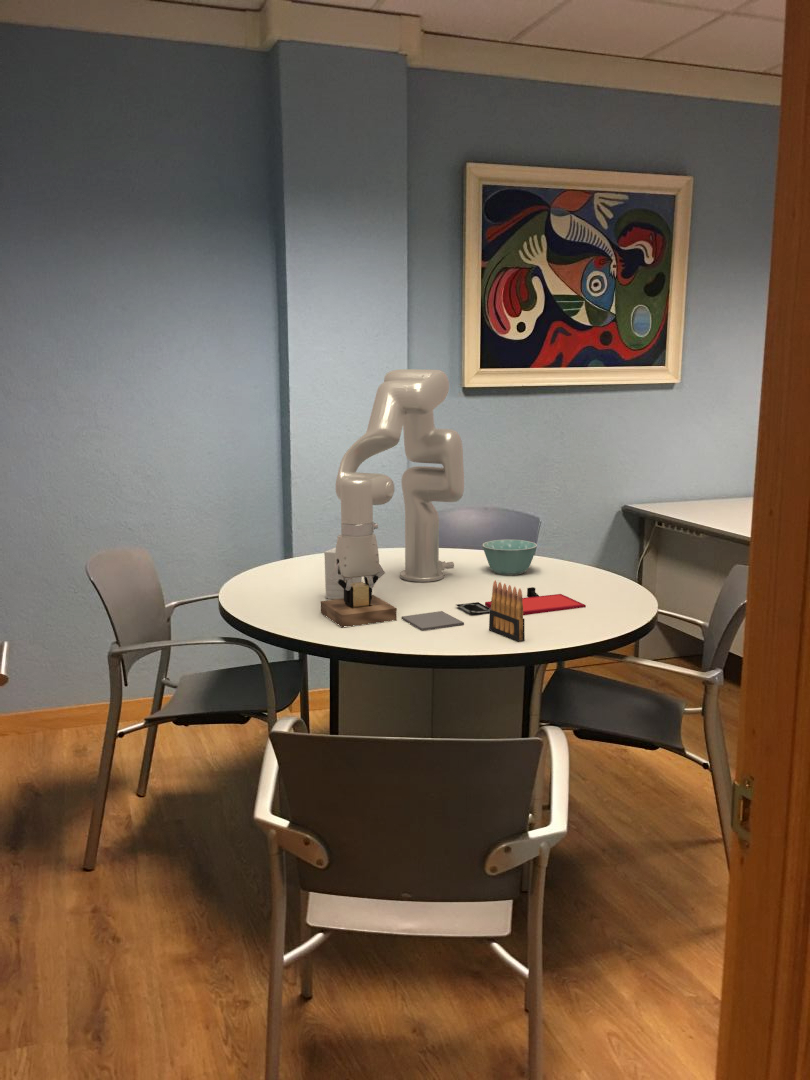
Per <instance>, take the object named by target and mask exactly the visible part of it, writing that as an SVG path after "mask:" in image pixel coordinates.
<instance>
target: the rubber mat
mask: <svg viewBox="0 0 810 1080" xmlns="http://www.w3.org/2000/svg"><path fill="white" fill-rule="evenodd" d="M400 618H401V620H402V619H403V620H402V621H404V622H406V623H407V622H408V624H409V623H410V625H411V626H412V627H414V628H417V629H418V630H420V631H421V632H424V631H431V630H437V629H446V628H451V627H459V626H464V625H465V622H464V621H462V620H460V619H458V618H456V617H455V616H453V615H451V614H449V613H447V612H444V610H443V611H442V610H437V611H432V612H425V613H415V614H409V615H403V616H401V617H400Z"/></svg>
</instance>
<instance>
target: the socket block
mask: <svg viewBox="0 0 810 1080" xmlns="http://www.w3.org/2000/svg"><path fill="white" fill-rule="evenodd" d="M397 611H398V610H397V607H396V606H394V605H392V604H390V603H388V602H386V601H385V600H383V599H381V598H379V597H378V596H376V595H374V594H372V599H371V604H369V606H368V607H361V608H353V609H352V608H350V607H349V606H347V605H346V603H345V602H344V598H342V599H327V600H326V599H325V600H320V614H321V615H323V616H324V615H325V616H324V617H326V616H327V617H328V619H329V618H330V619H331V620H330V619H329V620H330V621H332V620H333V621H334V622H333V621H332V622H333V623H335V622H336V623H337V624H339V625H340V626H342V627H344V626H351V627H354V626H353V625H359V626H363V625H362V624H366V625H369V624H368V623H373V624H377V623H376V622H380V623H385V622H384V621H388V622H393V621H392V620H395V621H397V619H398V617H397V615H398V614H397V613H398V612H397ZM327 617H326V618H327ZM336 623H335V624H336ZM337 624H336V625H337ZM339 625H338V626H339ZM340 626H339V627H340ZM342 627H341V628H342ZM344 628H345V627H344Z"/></svg>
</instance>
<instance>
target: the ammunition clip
mask: <svg viewBox="0 0 810 1080" xmlns="http://www.w3.org/2000/svg"><path fill="white" fill-rule="evenodd" d="M517 590H518V591H517ZM491 592H492V593H491V598H490V599H491V609H490V612H489V619H488V620H489V621H488V623H489V624H488V627H489V628H488V631H489V632H491V633H493V634H496V635H498V636H501V637H504V638H506V639H509V640H510V641H514V642H516V643H521V642H525V618H524V615H523V601H522V598H523V591H522V589H521V588H520V587H519V588H518V589H517V588H516V586H514V587H513V588H512V586H511V584H509V585H508V587H507V584H506V583H503V584H502V581H498V583H497V580H494V581H493V585H492V591H491Z"/></svg>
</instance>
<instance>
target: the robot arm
mask: <svg viewBox="0 0 810 1080" xmlns="http://www.w3.org/2000/svg"><path fill="white" fill-rule="evenodd" d="M449 381H450V380H449V377H448V376H447V374H446V373H445V372H444V371H442V370H439V369H415V368H414V369H412V368H411V369H410V368H409V369H408V368H406V369H404V368H402V369H393V370H391V371H388V372H387V373H386V374H385V376H384V378H383V382H382V383H381V384H379V386H378V388H377V390H376V392H375V397H374V402H373V405H372V409H371V413H370V417H369V420H368V424H367V428H366V429H367V430H366V432H365V433H364V434H362V436H360V437H359V438H358V439H356V441H354V442H353V444H352V445H351V446H349V448H348V449H347V450H346V451H345V453H344V454H343V456H342V458H341V461H340V464H339V467H338V470H337V471H338V472H337V475H336V480H335V493H336V496H337V498H338V499H339V500H340V521H341V522H340V524H341V525H340V527H341V528H340V529H341V531H340V532H341V534H340V535H339V534H338V536H337V540H336V546H335V547H336V551H335V569H334V570H333V572H332V574H331V576H330V579H331V580H333V581H335V582H337V583H338V584H339V585H340V586H341V587H342V588H344V602H345V603H346V605H348V606H350V607H351V606H353V592H352V590H351V583H352V578H355V577H363V580H364V581H363V583H365V584H367V585H369V604H371V599H372V595H373V588H374V586H375V584H376V583H377V582H378V580H379V579H380V578H382V577H383V576H384V575H385V574H386V571H385V570H384V568H383V567H382V566H381V564H380V554H379V547H378V541H377V537H376V534H375V533H374V531H375V530H376V529H378V528H379V524H378V523H377V522H376V523H375V522H374V518H373V516H374V515H373V514H374V513H373V511H374V509H373V508H374V507H373V506H382V505H385V504H387V503H389V502H390V501H391V500H392V498H393V496H394V495H395V483H394V481H393V479H392V477H389V476H388V475H386V474H383V473H371V472H357V470H358V469H359V467H360V466H361V465H362V464H363V463H364V462H365V461H366V460H368V459H369V458H371V457H373V456H376V455H377V454H380V453H382V452H385V451H388V450H389V449H391V448H392V449H393V448H394V447H395V446H397V445H398V444H399V442H400V440H401V439H400V438H401V435H402V431H403V445H404V451H405V452H404V453H405V457H406V459H407V460H408V461H410V462H412V463H419V464H435V465H436V464H437V465H438V464H439V465H441V467H439V466H426V465H424V466H422V465H420V466H419V465H418V466H416V465H415V466H412V467H409V468H407V469H405V471H404V472H403V474H402V475H401V489H402V495H403V502H404V504H403V505H404V522H405V523H404V525H405V526H404V539H405V540H404V553H405V554H404V559H405V560H404V561H405V562H404V566H405V567H404V569H405V570H401V571H400V572H399V578H400V579H401V580H404V581H409V582H414V583H424V582H425V583H427V582H428V583H429V582H437V581H440V580H443V579H444V577H445V573H444V570H446V569H447V570H450V569H454V567H455V563H454V561H447V562H446V561H442V560H440V559H439V558H440V556H439V555H440V554H439V552H440V551H439V550H440V549H439V548H440V547H439V546H440V542H439V541H440V535H439V534H440V531H439V530H440V523H439V522H440V517H439V513H438V511H437V509H436V507H435V506H434V504H433V502H436V503H437V502H438V503H439V502H441V503H455V502H459V501H460V500H461V499H462V497H463V495H464V491H465V470H464V449H463V441H462V438H461V436H460V434H459V433H458V431H456V430H454V429H449V428H436V426H435V418H434V409H436V408H438V407H439V405H441V404H442V403H443V402H444V401H445V400H446V398H447V396H448V394H449V391H450V382H449ZM338 575H341V576H342V577H343V580H342V579H340V578H338Z"/></svg>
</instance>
